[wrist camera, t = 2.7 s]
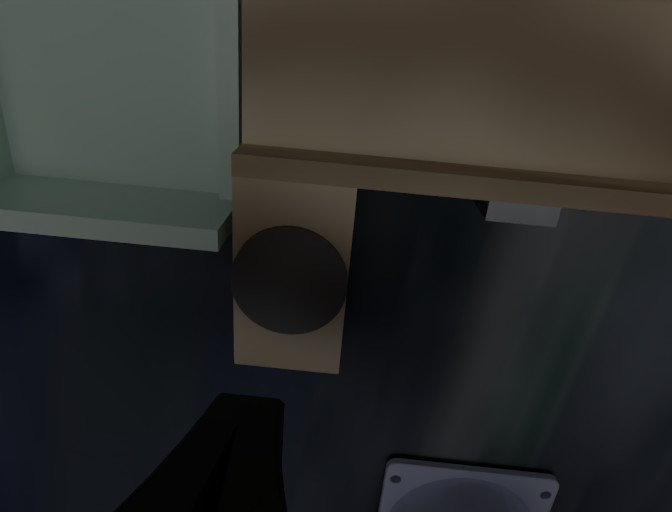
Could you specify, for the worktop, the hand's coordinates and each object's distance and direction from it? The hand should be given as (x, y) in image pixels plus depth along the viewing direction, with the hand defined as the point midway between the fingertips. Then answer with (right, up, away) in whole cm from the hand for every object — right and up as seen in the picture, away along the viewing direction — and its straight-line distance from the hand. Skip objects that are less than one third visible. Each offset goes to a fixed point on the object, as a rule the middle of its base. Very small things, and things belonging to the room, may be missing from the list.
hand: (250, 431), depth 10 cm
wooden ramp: (+7, +6, +7) cm, 12 cm away
